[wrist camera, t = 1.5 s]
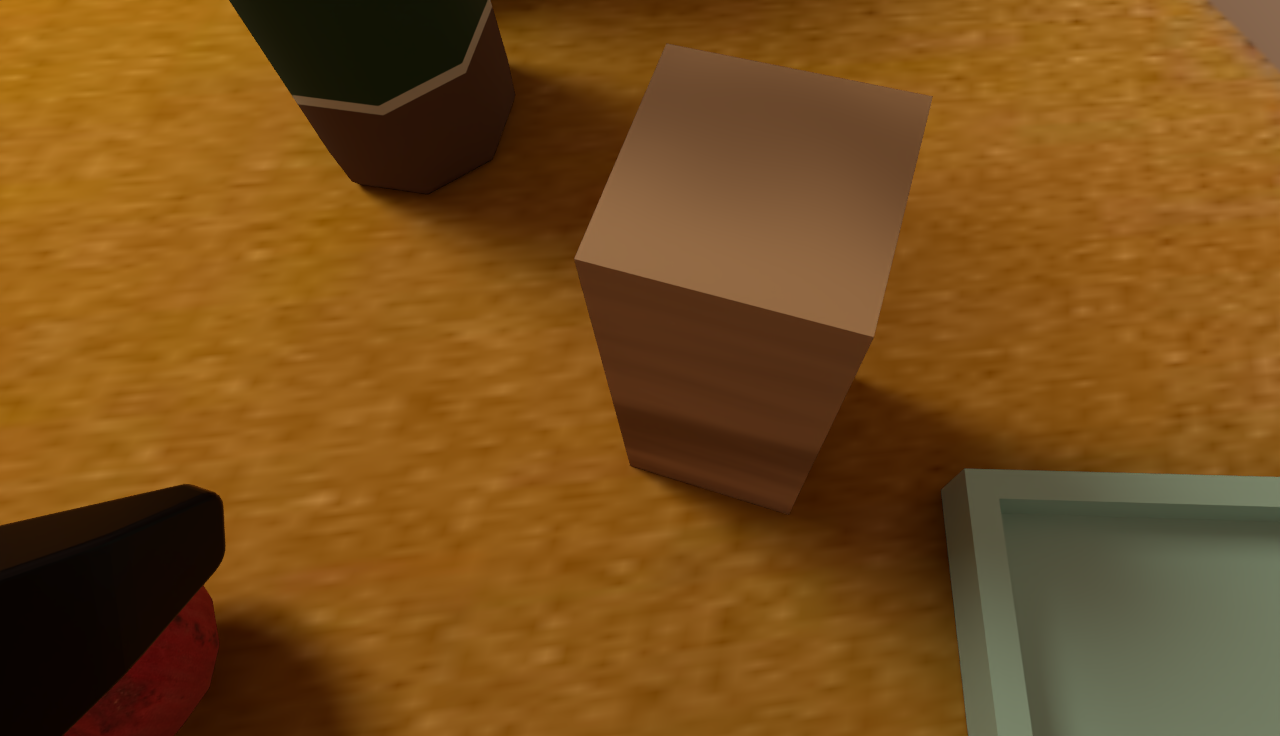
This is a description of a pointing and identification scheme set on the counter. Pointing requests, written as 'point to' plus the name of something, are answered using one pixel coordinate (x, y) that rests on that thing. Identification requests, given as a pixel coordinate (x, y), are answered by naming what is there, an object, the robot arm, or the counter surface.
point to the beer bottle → (392, 82)
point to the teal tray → (1116, 602)
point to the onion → (161, 679)
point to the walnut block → (745, 264)
